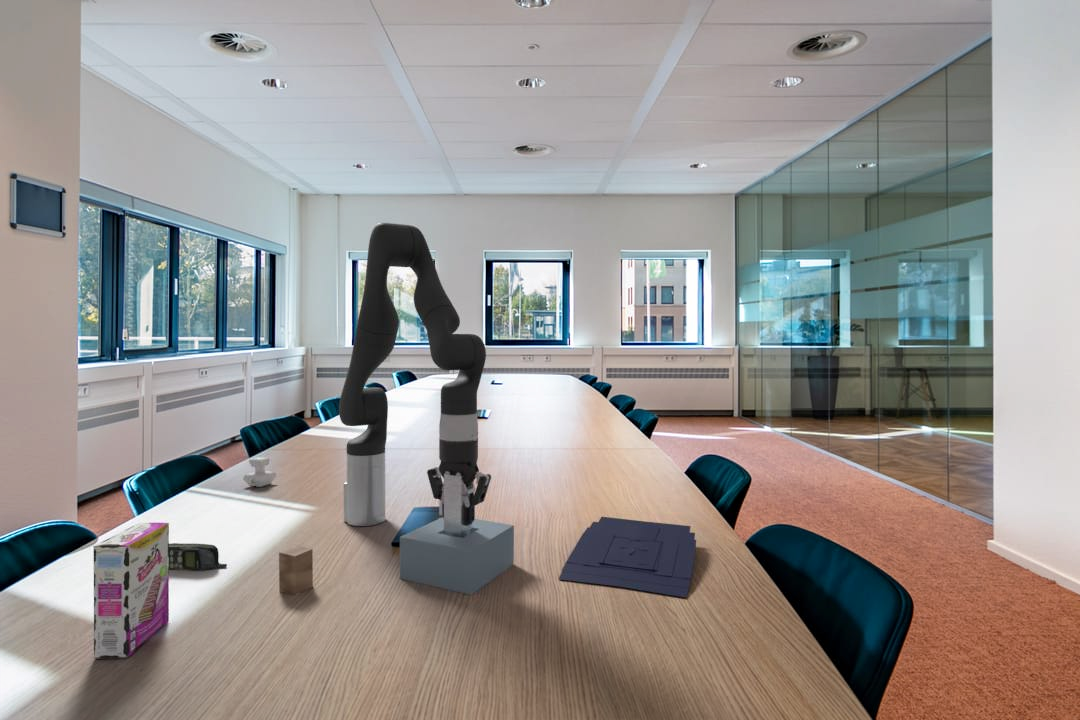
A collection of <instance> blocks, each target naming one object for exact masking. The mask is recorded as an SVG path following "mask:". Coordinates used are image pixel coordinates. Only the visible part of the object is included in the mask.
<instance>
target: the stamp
mask: <svg viewBox="0 0 1080 720" xmlns="http://www.w3.org/2000/svg"><path fill="white" fill-rule="evenodd" d="M248 461H249V462H248V463H249V465H250V466H251V468H254V469H255V471H253V472H250V473H246V474H245V475H244V476H243V481H244V482H245V483H246V484H247V485H248V486H250V487H254V486H256V488H257V487H258V488H262V487H264V486H265V487H266V486H268V485H270V484H272V482H274V480H275V479H276V478H277V473H276V472H275V471H272V470H271V471H268V470H265V467H267V466H269V464H270V458H269V457H259V456H258V457H254V458H250V459H249V460H248Z"/></svg>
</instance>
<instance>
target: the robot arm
mask: <svg viewBox="0 0 1080 720" xmlns="http://www.w3.org/2000/svg"><path fill="white" fill-rule="evenodd" d="M367 250H368V251H367V258H366V270H365V271H366V272H365V280H364V288H363V293H362V300H361V303H360V310H359V314H358V316H357V322H356V327H355V333H354V339H353V346H352V347H353V348H352V352H351V358H350V362H349V366H348V370H347V373H346V378H345V380H344V384H343V388H342V390H341V394H340V398H339V406H338V414H339V419H340V421H341V423H342V424H343V425H345V426H346V427H347V426H348V427H358V426H359V427H360V426H367V428H366V429H364V431H363V432H362V433H361V434H360V435H357V436H356V437H354V438H351V439H349V440H348V441H347V443H346V482H344V483H343V522H346V523H347V524H348V525H350V526H354V527H368V526H375V525H379V524H381V523H383V522H385V521H386V443H387V436H388V433H387V432H388V415H389V414H388V412H389V404H388V402H389V401H388V396H387V394H386V391H385V390H384V389H383V388H382V387H373V386H372V387H366V383H367V382H368V380H369V378H370V377H371V375H372V374H373V373H374V372H375V371H376V369H378V367H380V366H381V365H382V364H383V363H384V361H385V360H386V359H387V358H389V355H390V354H392V351H393V350H394V348H395V344H396V342H397V341H396V340H397V335H398V332H399V327H400V317H399V314H398V312H397V310H396V309H397V308H396V307H395V305H394V302H393V300H392V297H391V295H390V292H389V290H388V274H389V270H390V267H393V268H394V267H396V268H410V269H411V270H412V271H413V272H414V274H415V275H416V278H417V279H416V280H417V281H416V285H415V288H414V292H413V304H414V308H415V312H417V315H418V317H419V319H420V321H421V322H422V325H423V326H424V328H425V330H426V334H427V338H428V343H429V344H428V345H429V351H430V357H431V360H432V361H433V363H434V364H435V366H436V367H438V368H439V369H441V370H444V371H459V372H458V374H457V376H456V378H455V380H452V381H450V382H447V383H445V384H443V385H442V386H441V389H440V417H439V424H438V425H439V428H438V429H439V431H438V433H439V438H438V439H439V441H438V447H439V448H438V453H439V454H438V459H439V460H440V463H439V464H438V465H439V466H438V467H433V468H430V469H427V472H426V474H427V477H428V480H429V484H430V485H429V486H430V489H431V492H432V493H431V494H432V497H433V498H434V499H435V500H437V499H438V501H439V500H440V501H441V502H442V517H443V519H444V481H443V480H444V474H445V475H452V474H454V475H456V476H460V477H462V476H464V477H462V489H463V490H462V495H463V496H464V504H465V507H464V525H465V526H469V525H471V524H472V522H473V521H474V520H475V519H476V515H475V513H476V511H475V510H476V506H477V505H479V504H481V503H483V502H485V499H486V495H487V493H488V489H489V487H490V483H491V480H492V475H491V474H489V473H487V474H485V473H483V472H481V471H480V470H479V467H478V464H477V463H478V459H479V421H478V413H477V412H478V390H479V387H480V382H481V378H482V375H483V371H484V367H485V365H486V360H487V359H486V358H487V350H486V346H485V345H486V344H485V342H484V341H483V340H482V338H481V337H480V336H479V335H477V334H473V333H456V331H458V329H459V327H460V325H461V321H460V316H459V314H458V312H457V310H456V308H455V307H454V305H453V303H452V301H451V299H450V298H449V296H448V294H447V293H446V291H445V289H444V287H443V284H442V282H441V280H440V277H439V274H438V272H437V269H436V265H435V261H434V259H433V257H432V254H431V251H430V249H429V245H428V243H427V240H426V238H425V236H424V234H423V232H422V231H421V230H420V229H419V228H418V227H416V226H414V225H409V224H403V223H402V224H400V223H394V222H392V223H391V222H378V223H376V224H375V225H374V226H373V229H372V231H371V234H370V236H369V242H368V249H367ZM442 478H443V479H442ZM475 480H476V482H475ZM474 482H475V483H476V485H477V486H476V487H475V483H474ZM470 485H471V487H470V489H468V490H467V489H466V488H467V487H469V486H470Z"/></svg>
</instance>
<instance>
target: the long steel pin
mask: <svg viewBox="0 0 1080 720" xmlns="http://www.w3.org/2000/svg"><path fill="white" fill-rule="evenodd" d="M462 477H464V476H462ZM462 477H460V476H456V475H454V474H452V475H445V474H444V479H443V483H444V535H450V536H455V537H461V538H464V537H466V536H468V535H469V534H471V533H472V524H471V525H469V526H465V525H464V507H465V504H464V496H463V495H462V490H463V489H462ZM470 487H471V485H470V486H469V487H467V488H466V489H467V490H468V489H470Z"/></svg>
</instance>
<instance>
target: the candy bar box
mask: <svg viewBox="0 0 1080 720" xmlns="http://www.w3.org/2000/svg"><path fill="white" fill-rule="evenodd" d="M169 526H170V522H139V523H136V524H134V525H132V526H130V527H128V528H127V529H125V530H123V531H120V532H118V533H117V534H115V535H113V536H111V537H109V538H106V539H105V540H103V541H101V542H100V543H97V544H95V545H93V659H97V660H98V659H99V660H100V659H102V660H103V659H105V660H108V659H114V660H115V659H119V660H120V659H127V658H130V656H132V654H134V653H135V652H136V651H137V650H138V649H139V648H140V647H141V646H142V645H144V644H145V643H146V642H147V641H148V640H150V639H151V638H152V637H153V636H154V635H155V634H156V633H158V631H160V630H161V629H162V628H163V627H164V626H165V625H167V624H168V623H169V621H170V620H169V619H170V617H169V614H170V613H169V612H170V609H169V608H170V606H169V605H170V603H169V601H170V600H169V599H170V597H169V592H170V591H169V590H170V589H169V585H170V583H169V582H170V581H169V580H170V577H169V576H170V575H169V544H170V543H169V541H170V537H169V536H170V535H169V534H170V531H169V530H170V529H169V528H170V527H169Z"/></svg>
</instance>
